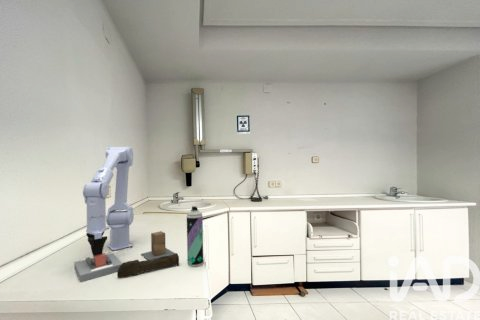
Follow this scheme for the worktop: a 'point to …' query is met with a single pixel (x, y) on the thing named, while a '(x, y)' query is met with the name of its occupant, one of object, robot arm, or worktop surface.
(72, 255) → the worktop surface
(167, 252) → the mat
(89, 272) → the panel
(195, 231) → the spray can
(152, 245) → the tan wooden post
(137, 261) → the hand tool
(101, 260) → the lever
